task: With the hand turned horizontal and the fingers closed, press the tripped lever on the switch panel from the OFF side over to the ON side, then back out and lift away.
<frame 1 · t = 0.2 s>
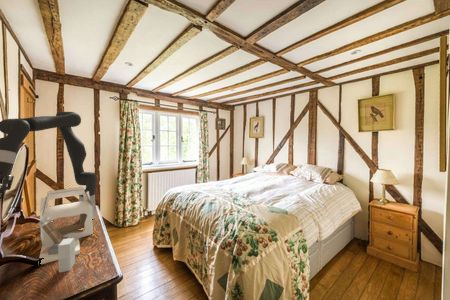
switch panel: (60, 252, 99), on the dresser
gable box: (67, 237, 114), on the dresser
breaker lever: (52, 231, 97), point 11 cm above the dresser, hinge at 30.0°
skincare box: (67, 268, 87), on the dresser
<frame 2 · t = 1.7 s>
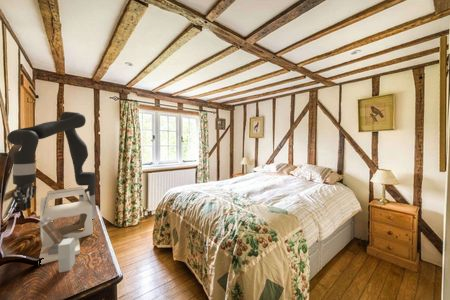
hand: (25, 209, 93), 23 cm above the dresser, tool pointing down, fingers closed
nothing on the dresser moved.
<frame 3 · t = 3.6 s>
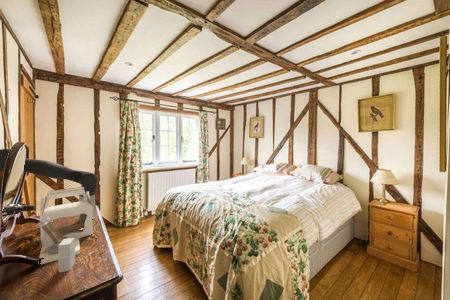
hand: (34, 207, 94), 23 cm above the dresser, tool horizontal, fingers closed
nothing on the dresser moved.
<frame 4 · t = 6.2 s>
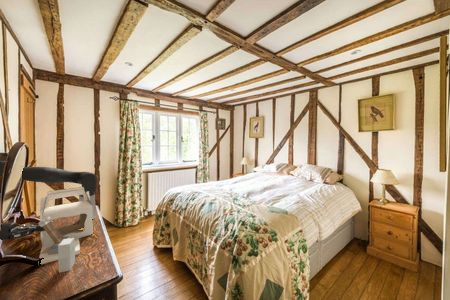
hand: (46, 227, 96), 13 cm above the dresser, tool horizontal, fingers closed
breaker lever: (52, 231, 97), point 11 cm above the dresser, hinge at 28.5°, touching gripper
everything else where it was.
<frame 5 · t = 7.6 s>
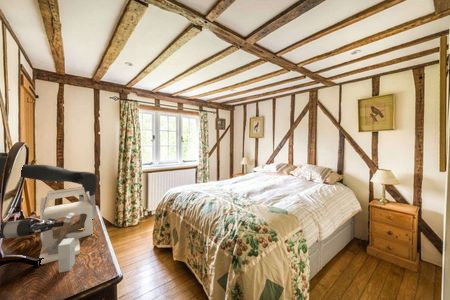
hand: (64, 223, 99), 14 cm above the dresser, tool horizontal, fingers closed
breaker lever: (65, 228, 99), point 12 cm above the dresser, hinge at -18.4°, touching gripper
everything else where it was.
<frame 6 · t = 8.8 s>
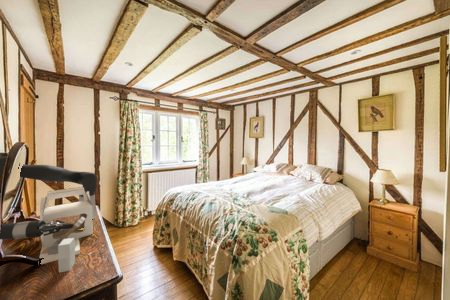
hand: (72, 225, 100), 13 cm above the dresser, tool horizontal, fingers closed
breaker lever: (70, 231, 100), point 10 cm above the dresser, hinge at -42.5°, touching gripper
everything else where it was.
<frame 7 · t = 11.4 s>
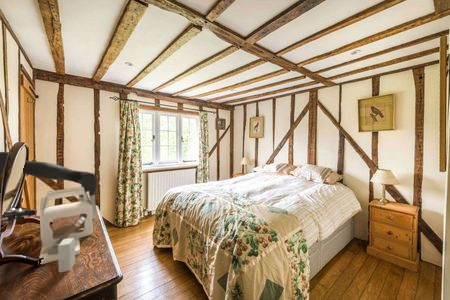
hand: (35, 212, 95), 21 cm above the dresser, tool horizontal, fingers closed
breaker lever: (70, 231, 100), point 10 cm above the dresser, hinge at -42.5°
everything else where it was.
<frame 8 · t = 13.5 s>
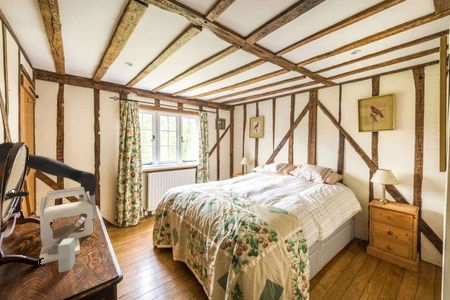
hand: (28, 193, 95), 30 cm above the dresser, tool horizontal, fingers closed
nothing on the dresser moved.
at the end: breaker lever at -42° (first picture: +30°); gable box moved 0.3 cm from its start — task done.
